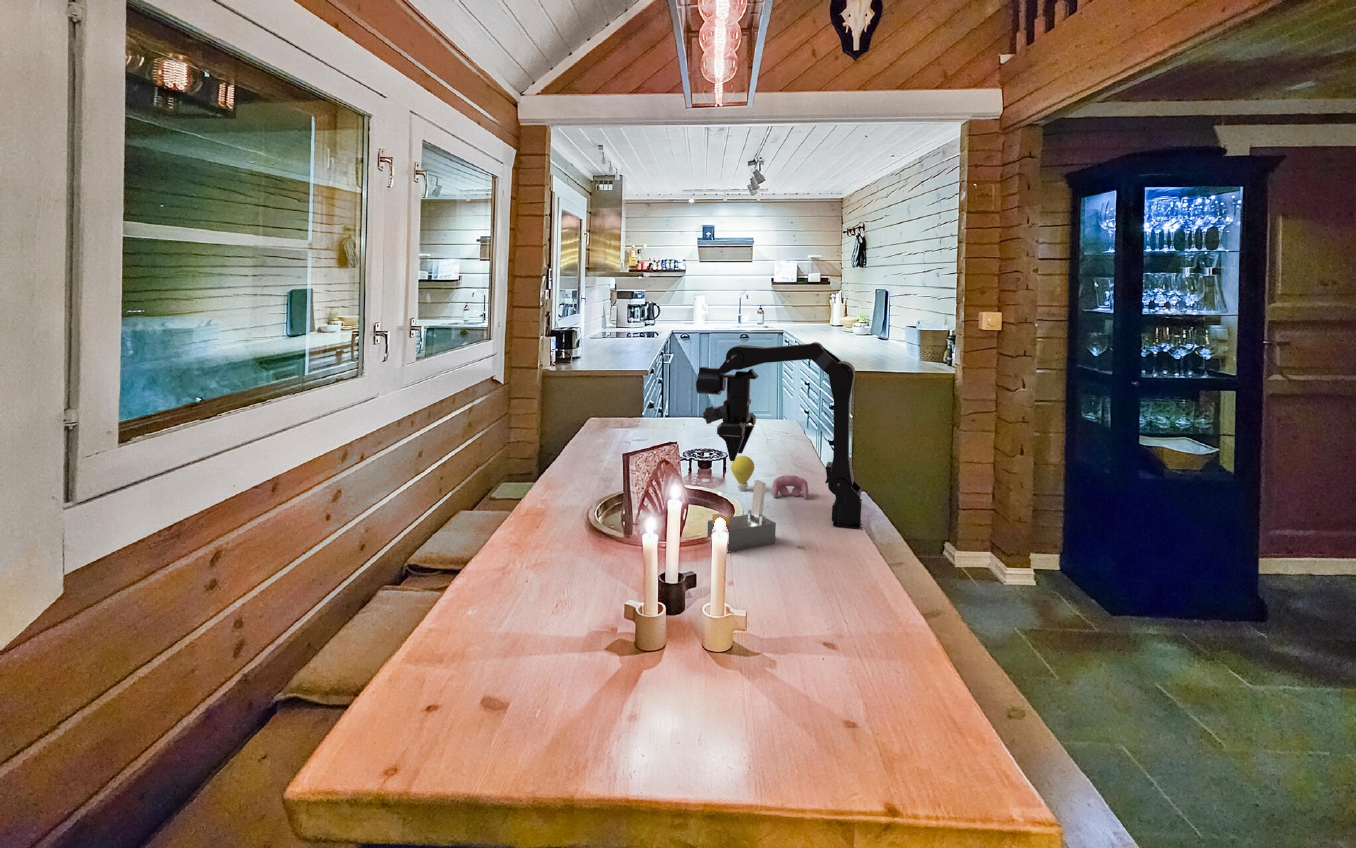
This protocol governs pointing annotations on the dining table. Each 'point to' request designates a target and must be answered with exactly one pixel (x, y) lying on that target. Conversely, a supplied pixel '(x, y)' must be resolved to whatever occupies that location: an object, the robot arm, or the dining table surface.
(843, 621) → the dining table surface
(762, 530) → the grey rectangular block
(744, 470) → the light bulb
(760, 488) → the light grey flat bar
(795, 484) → the pink curved piece
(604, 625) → the dining table surface
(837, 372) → the robot arm
